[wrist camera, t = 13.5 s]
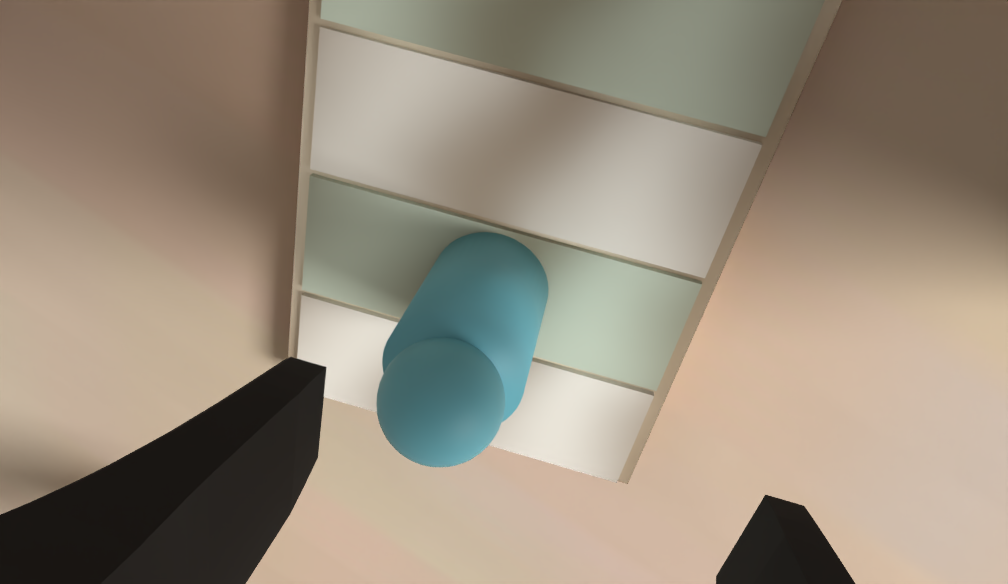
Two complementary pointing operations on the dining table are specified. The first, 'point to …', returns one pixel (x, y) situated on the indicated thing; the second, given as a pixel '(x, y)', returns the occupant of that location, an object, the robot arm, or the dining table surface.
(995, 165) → the dining table surface
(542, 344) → the board
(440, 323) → the pawn
